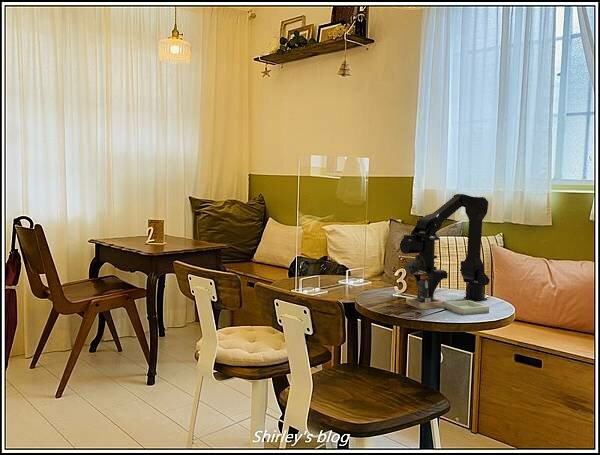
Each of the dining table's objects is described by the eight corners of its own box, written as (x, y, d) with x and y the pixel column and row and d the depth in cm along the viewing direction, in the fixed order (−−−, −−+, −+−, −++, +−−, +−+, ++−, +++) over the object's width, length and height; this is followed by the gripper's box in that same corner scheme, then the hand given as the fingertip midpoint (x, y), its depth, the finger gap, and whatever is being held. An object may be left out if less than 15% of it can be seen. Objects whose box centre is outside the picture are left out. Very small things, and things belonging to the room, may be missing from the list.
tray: (469, 305, 213) (469, 300, 213) (489, 312, 203) (489, 306, 203) (444, 308, 209) (444, 302, 209) (463, 314, 199) (463, 308, 199)
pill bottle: (433, 307, 210) (434, 276, 209) (416, 306, 211) (417, 276, 210) (433, 304, 216) (434, 274, 215) (416, 303, 217) (417, 273, 216)
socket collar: (428, 301, 220) (429, 296, 220) (444, 307, 210) (444, 301, 210) (406, 303, 216) (406, 298, 216) (421, 309, 207) (421, 303, 207)
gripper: (394, 250, 217) (393, 291, 219) (422, 256, 200) (421, 301, 201) (419, 249, 221) (418, 289, 223) (449, 255, 204) (447, 299, 205)
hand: (425, 294), depth 213 cm, fingers closed on pill bottle, 6 cm apart
